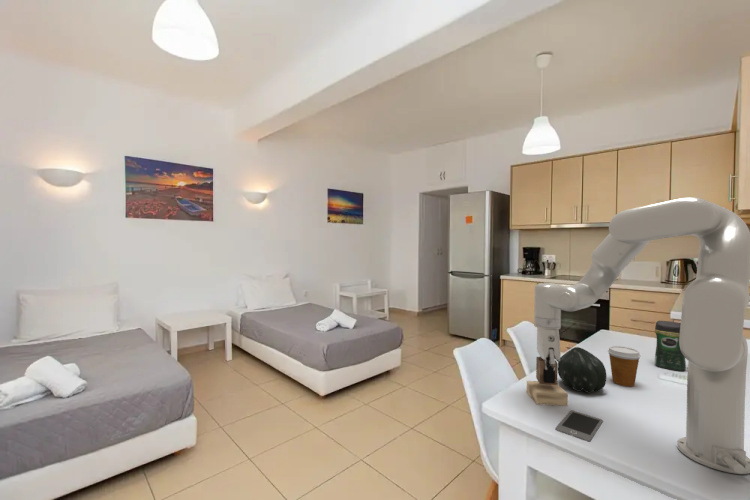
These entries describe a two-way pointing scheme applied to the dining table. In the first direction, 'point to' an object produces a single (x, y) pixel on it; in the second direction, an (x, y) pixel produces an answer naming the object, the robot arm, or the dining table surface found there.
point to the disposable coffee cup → (624, 365)
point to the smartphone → (579, 425)
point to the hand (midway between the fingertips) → (546, 378)
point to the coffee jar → (669, 346)
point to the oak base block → (547, 393)
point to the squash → (582, 370)
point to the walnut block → (540, 371)
